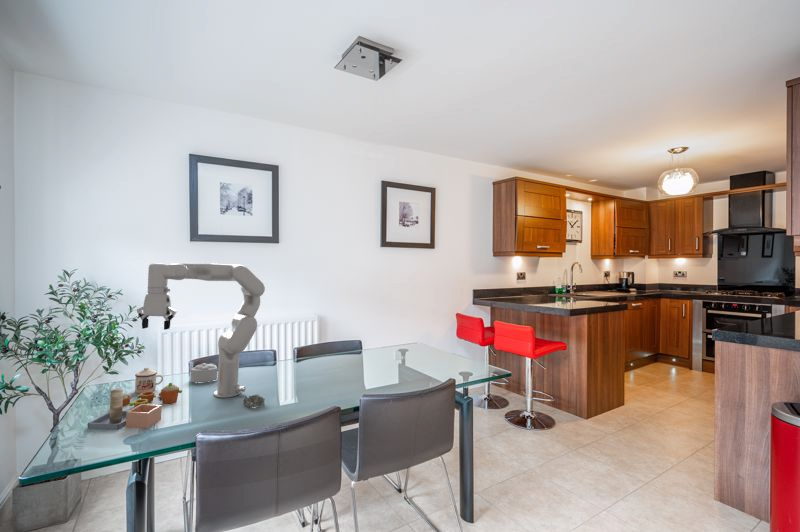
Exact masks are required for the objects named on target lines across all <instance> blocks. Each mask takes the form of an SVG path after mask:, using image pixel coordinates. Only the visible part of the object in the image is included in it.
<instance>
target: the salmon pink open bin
mask: <svg viewBox="0 0 800 532" xmlns="http://www.w3.org/2000/svg"><path fill="white" fill-rule="evenodd" d="M162 408H163V404H153V403H151V404H140V405H139V406H137V407H135V408H134V407H133V408H131V409H130V410H127V411H128V412H126V426H125V428H126V429H127V428H128V429H129V428H130V429H131V428H132V429H149V428H150V427H152V426H154V425H155V424H156V423H159V422H160V421H161V420H162V412H163V411H162Z"/></svg>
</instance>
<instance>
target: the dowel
mask: <svg viewBox="0 0 800 532" xmlns="http://www.w3.org/2000/svg"><path fill="white" fill-rule="evenodd" d="M123 395H124V389H123V388H114V389H111V390H110V401H109V412H110V420H109V423H110V424H117V423H120V422H121V421H122V410H123V406H122V403H123Z"/></svg>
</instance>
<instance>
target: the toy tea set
mask: <svg viewBox="0 0 800 532" xmlns="http://www.w3.org/2000/svg"><path fill="white" fill-rule="evenodd" d="M182 393H183V390H182V389H180V387H178V386H177V385H175V384H173V383H172V382H169V383H168V384H167V385H165V386H164V387H163V388H162V389H161V390H160V392H159V393H158V394H157V395H158V396H159V398H160V400H161V402H162V405H174V404H176V403H177V402H178V399H179V398H178V397H179V394H182ZM157 395H156V394H155V392H154V391H152V392H144V393H139V394H138V395H137V396H136V398H137V399H135V400H134V401H133V402H131V400H132V395H130V394H129V395H127V394H123V403H122V407H126V406H129V407H133V408H135V407H137V406H139V405H140V404H152V402H153V401H154V398H157ZM173 403H174V404H173Z"/></svg>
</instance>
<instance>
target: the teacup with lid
mask: <svg viewBox="0 0 800 532" xmlns="http://www.w3.org/2000/svg"><path fill="white" fill-rule="evenodd" d="M134 376H135V386H134V392H135V393H136V394H141V393H144V392H154V391H155V390H156V386H157V385H160V384H162V382H163V381H164V377H163V375H162V374H158V373H157V371H156V370H155V369H150V368H149V367H144V368H143V369H141V370H140V371H137V372H136V373H135V375H134ZM157 377H160V378H161V379H160V381H158V382H157Z"/></svg>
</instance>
